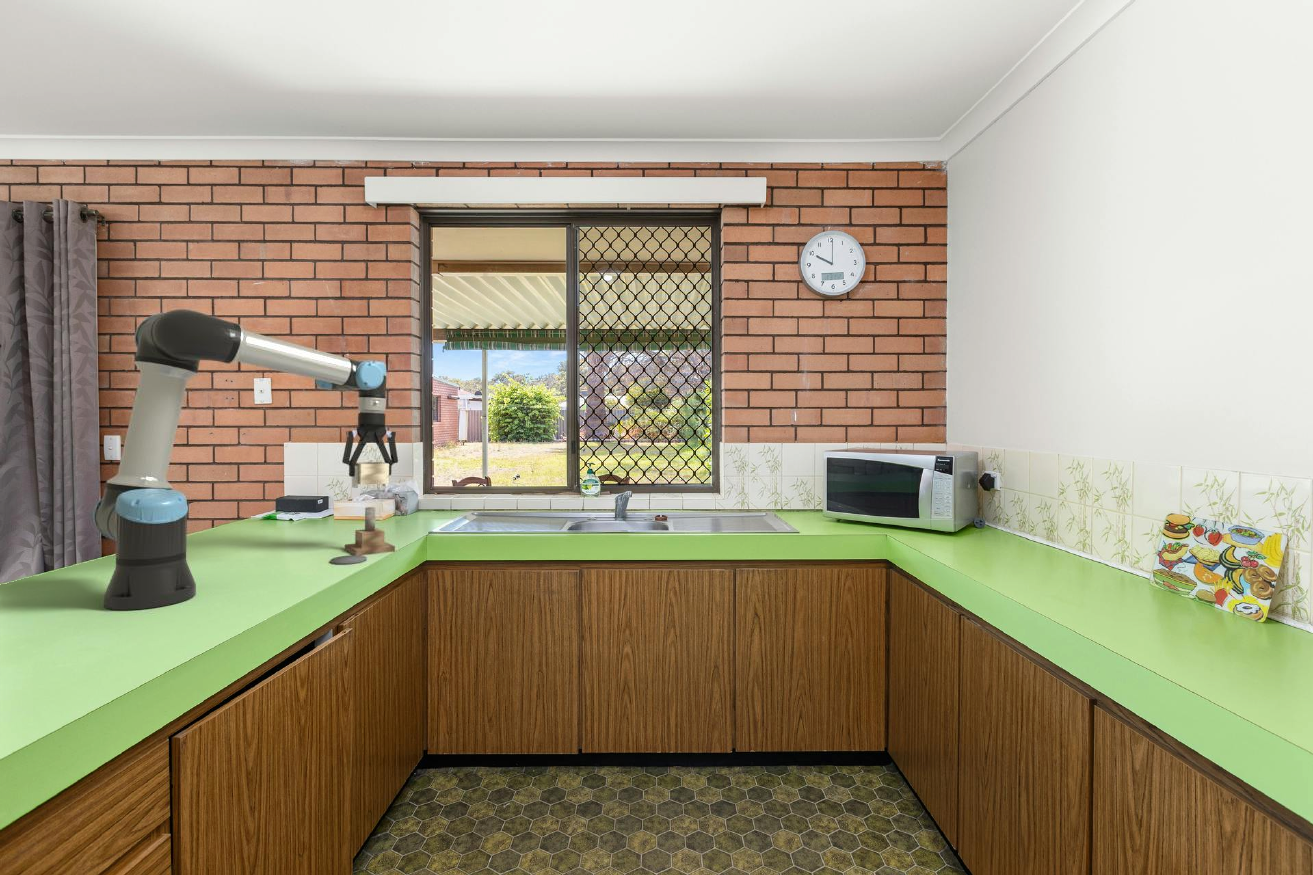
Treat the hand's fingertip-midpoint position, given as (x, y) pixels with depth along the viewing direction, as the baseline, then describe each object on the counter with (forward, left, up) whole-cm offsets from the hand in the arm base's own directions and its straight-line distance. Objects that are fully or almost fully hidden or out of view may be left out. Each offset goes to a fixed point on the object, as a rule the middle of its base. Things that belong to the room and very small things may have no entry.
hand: (370, 486), depth 181 cm
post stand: (0, 0, -19) cm, 19 cm away
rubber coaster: (-9, -11, -19) cm, 24 cm away
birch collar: (0, 0, +1) cm, 1 cm away
